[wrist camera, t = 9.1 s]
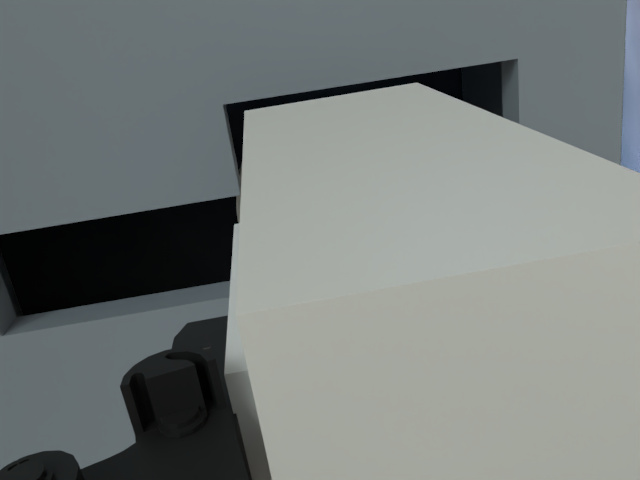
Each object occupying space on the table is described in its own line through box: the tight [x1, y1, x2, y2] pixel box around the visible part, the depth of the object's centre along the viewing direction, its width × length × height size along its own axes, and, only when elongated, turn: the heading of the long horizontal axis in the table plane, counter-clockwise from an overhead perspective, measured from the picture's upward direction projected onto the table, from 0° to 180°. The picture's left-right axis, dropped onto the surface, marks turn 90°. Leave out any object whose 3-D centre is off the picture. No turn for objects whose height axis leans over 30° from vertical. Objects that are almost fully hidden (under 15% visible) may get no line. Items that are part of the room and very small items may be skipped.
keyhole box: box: [0, 0, 627, 470], centre depth 22 cm, size 24×16×11 cm, turn 98°
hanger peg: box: [236, 83, 640, 480], centre depth 13 cm, size 6×8×16 cm
